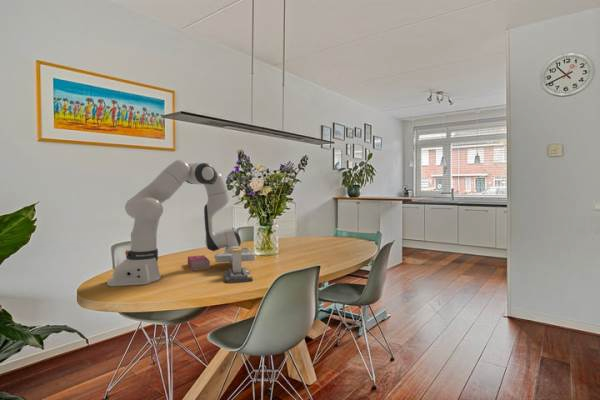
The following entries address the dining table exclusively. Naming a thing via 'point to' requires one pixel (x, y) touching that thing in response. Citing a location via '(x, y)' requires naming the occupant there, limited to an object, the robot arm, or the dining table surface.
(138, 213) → the robot arm
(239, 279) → the switch bank
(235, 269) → the tab
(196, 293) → the dining table surface
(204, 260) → the maroon box
